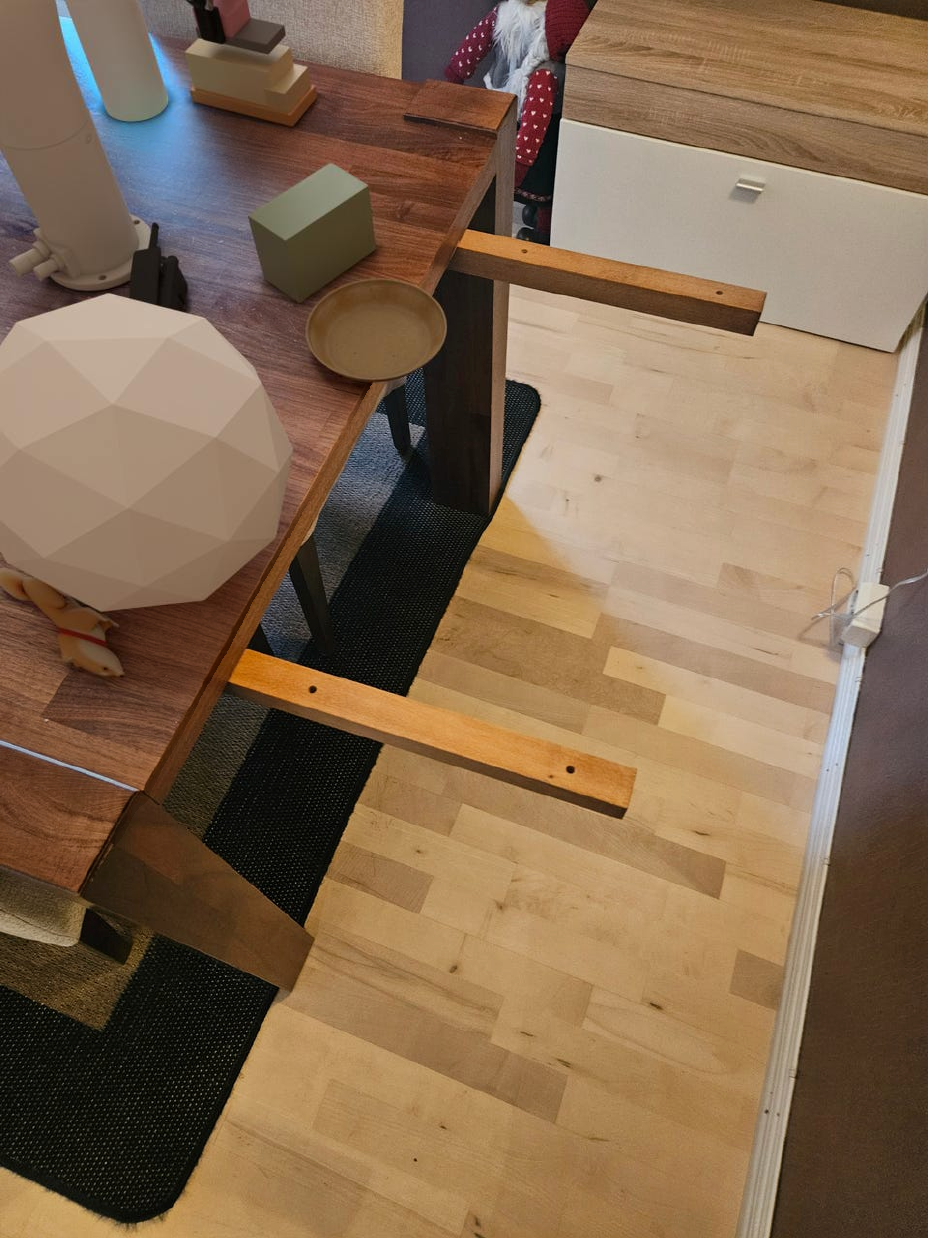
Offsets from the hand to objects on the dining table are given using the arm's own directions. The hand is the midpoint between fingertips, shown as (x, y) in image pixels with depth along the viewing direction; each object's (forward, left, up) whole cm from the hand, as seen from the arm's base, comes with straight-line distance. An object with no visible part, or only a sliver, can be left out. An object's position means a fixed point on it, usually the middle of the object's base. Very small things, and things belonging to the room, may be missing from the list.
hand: (225, 27), depth 105 cm
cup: (-10, +9, -8) cm, 16 cm away
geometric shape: (-43, -40, +4) cm, 59 cm away
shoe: (+1, -2, -8) cm, 8 cm away
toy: (-60, -50, -6) cm, 78 cm away
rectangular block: (-15, -32, -8) cm, 36 cm away
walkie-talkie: (-38, -31, -6) cm, 49 cm away
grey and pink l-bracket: (+1, -2, -1) cm, 2 cm away
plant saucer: (-20, -46, -8) cm, 51 cm away
